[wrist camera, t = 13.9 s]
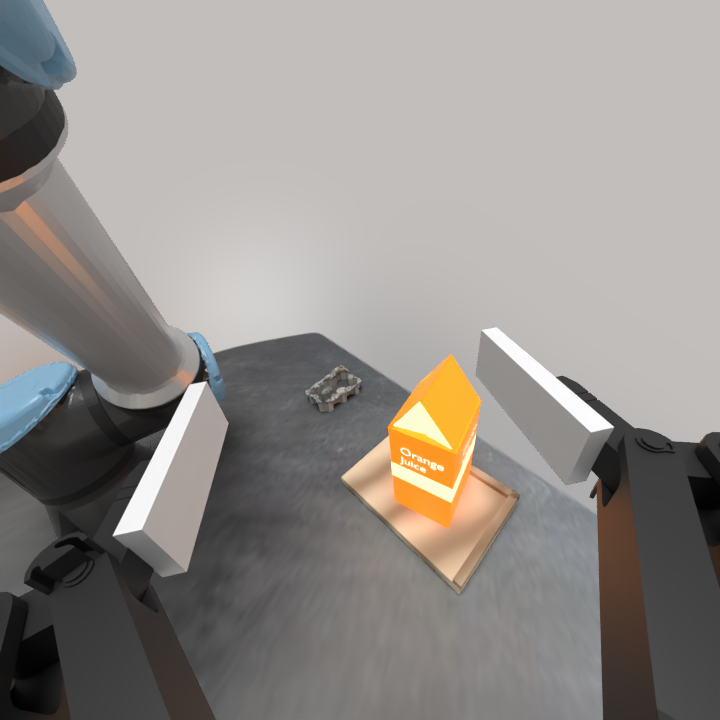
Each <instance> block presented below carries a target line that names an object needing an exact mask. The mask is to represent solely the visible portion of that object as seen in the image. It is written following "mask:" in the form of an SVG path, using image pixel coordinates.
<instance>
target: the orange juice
mask: <svg viewBox="0 0 720 720" xmlns="http://www.w3.org/2000/svg"><path fill="white" fill-rule="evenodd" d="M480 403H481V399H479V397H478V395H477V394H476V393H475V391H474V389H473V388H472V386H471V385H470V383H469V381H468V380H467V378H466V377H465V375H464V374H463V372H462V370H461V369H460V367H459V366H458V364H457V363H456V361H455V360H454V358H453V356H452V355H450V356H449V357H447V358H446V359H445V360H444V361H443V362H442V363H441V364H440V365H439V366H437V367H436V368H435V369H434V370H433V371H432V372H431V373H430V374H429V375H428V376H426V377H425V378H424V379H423V380H422V381H421V382H420V383H419V384H418V386H417V387H416V389H415V390H414V391H413V393H412V394H411V395H410V397H409V398H408V400H407V401H406V402H405V404H404V405H403V407H402V408H401V409H400V411H399V412H398V414H397V415H396V417H395V418H394V419H393V421H392V422H391V424H390V425H389V426H388V429H389V440H390V451H391V468H392V475H393V485H394V497H395V501H397V502H399V503H400V504H402V505H404V506H406V507H408V508H410V509H412V510H414V511H416V512H418V513H419V514H421V515H423V516H425V517H427V518H429V519H431V520H433V521H435V522H437V523H438V524H440V525H442V526H444V527H446V528H449V526H450V523H451V521H452V518H453V515H454V513H455V510H456V508H457V505H458V502H459V500H460V497H461V495H462V492H463V490H464V487H465V484H466V482H467V479H468V477H469V474H470V467H471V461H472V454H473V448H474V444H475V437H476V428H477V422H478V415H479V409H480Z"/></svg>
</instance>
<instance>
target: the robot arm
mask: <svg viewBox="0 0 720 720" xmlns="http://www.w3.org/2000/svg"><path fill="white" fill-rule="evenodd" d="M75 76H76V67H75V63H74V60H73V57H72V55H71V53H70V51H69V49H68V47H67V45H66V43H65V42H64V39H63V38H62V36H61V34H60V32H59V30H58V27H57V25H56V24H55V22H54V20H53V18H52V16H51V14H50V12H49V11H48V9H47V7H46V5H45V3H44V1H43V0H0V314H2V315H3V316H5V317H7V318H8V319H10V320H11V321H13V322H14V323H16V324H17V325H19V326H20V327H22V328H23V329H25V330H26V331H28V332H30V333H31V334H33V335H34V336H36V337H37V338H39V339H40V340H42V341H43V342H45V343H46V344H48V345H49V346H51V347H52V348H54V349H55V350H57V351H59V352H60V353H62V354H63V355H65V356H66V357H68V358H69V359H71V360H72V361H74V362H75V363H77V364H78V365H80V366H82V367H83V368H85V370H82V371H78V369H77V367H76V366H74V365H72V364H70V363H68V362H58V363H50V364H46V365H43V366H40V367H37V368H35V369H32V370H30V371H28V372H25V373H23V374H21V375H19V376H17V377H15V378H13V379H11V380H10V381H7V382H6V383H4V384H2V385H1V386H0V472H1V473H2V474H4V475H5V476H6V477H8V478H9V479H10V480H12V481H13V482H14V483H16V484H17V485H19V486H20V487H21V488H23V489H24V490H25V491H27V492H28V493H29V494H31V495H32V496H33V497H35V498H36V499H37V500H39V501H40V502H41V503H43V504H44V505H45V507H46V510H47V512H48V515H49V517H50V520H51V522H52V525H53V527H54V530H55V532H56V535H57V536H58V538H59V539H58V540H56V541H54V542H53V543H52V544H50V545H49V546H48V547H47V548H45V549H44V550H43V551H42V552H41V553H40V554H39V555H38V556H37V557H36V558H35V560H34V561H33V562H32V563H31V565H30V566H29V568H28V570H27V572H26V573H25V578H24V583H25V584H27V585H28V586H30V587H32V588H34V590H32V591H30V592H28V593H26V594H24V595H22V596H20V597H17V596H15V595H13V594H10V593H8V592H1V593H0V720H216V719H215V717H214V715H213V713H212V711H211V709H210V706H209V704H208V702H207V700H206V698H205V696H204V694H203V692H202V690H201V687H200V685H199V683H198V681H197V679H196V677H195V675H194V673H193V670H192V668H191V666H190V664H189V662H188V660H187V658H186V656H185V653H184V651H183V649H182V647H181V645H180V643H179V641H178V639H177V636H176V634H175V632H174V630H173V628H172V626H171V624H170V622H169V619H168V617H167V615H166V613H165V611H164V609H163V607H162V605H161V602H160V600H159V598H158V596H157V594H156V592H155V590H154V588H153V586H152V585H151V584H150V583H149V581H150V578H151V575H152V572H153V570H154V571H155V572H157V573H158V574H159V575H160V576H161V577H166V576H171V575H175V574H180V573H184V572H187V570H188V566H189V562H190V559H191V555H192V552H193V548H194V545H195V541H196V538H197V534H198V531H199V527H200V523H201V520H202V516H203V513H204V509H205V506H206V502H207V499H208V495H209V492H210V488H211V484H212V481H213V477H214V474H215V470H216V467H217V463H218V460H219V456H220V453H221V449H222V445H223V442H224V438H225V435H226V431H227V428H228V424H229V423H228V421H227V420H226V418H225V416H224V414H223V412H222V410H221V408H220V406H219V403H221V402H222V401H223V400H224V398H225V387H224V383H223V380H222V377H221V376H220V371H219V368H218V365H217V363H216V360H215V358H214V355H213V353H212V351H211V349H210V347H209V345H208V343H207V341H206V340H205V338H204V337H203V336H202V335H201V334H200V333H197V332H195V333H185V332H183V331H182V330H180V329H178V328H175V327H173V326H169V325H167V323H166V322H165V320H164V319H163V317H162V315H161V314H160V313H159V311H158V310H157V308H156V306H155V305H154V303H153V302H152V300H151V299H150V297H149V296H148V294H147V293H146V291H145V290H144V288H143V287H142V285H141V284H140V282H139V281H138V279H137V278H136V276H135V275H134V273H133V271H132V270H131V268H130V267H129V265H128V264H127V262H126V261H125V260H124V258H123V256H122V255H121V253H120V252H119V250H118V249H117V247H116V246H115V244H114V243H113V242H112V240H111V238H110V237H109V235H108V234H107V232H106V231H105V229H104V227H103V226H102V224H101V223H100V222H99V220H98V218H97V217H96V215H95V214H94V212H93V211H92V209H91V208H90V206H89V205H88V203H87V202H86V200H85V199H84V197H83V196H82V194H81V193H80V191H79V190H78V188H77V187H76V185H75V183H74V182H73V180H72V179H71V177H70V176H69V175H68V173H67V171H66V170H65V168H64V167H63V165H62V164H61V162H60V161H59V159H58V158H57V156H58V154H59V152H60V151H61V149H62V148H63V146H64V144H65V141H66V138H67V135H68V121H67V117H66V113H65V111H64V109H63V107H62V105H61V103H60V101H59V99H58V98H57V96H56V94H55V92H54V91H53V90H55V89H59V88H61V87H62V85H63V84H64V83H66V82H69V81H71V80H73V79H74V78H75ZM476 376H477V377H478V379H479V380H480V381H481V382H482V383H483V385H484V386H485V387H486V388H487V390H488V391H489V392H490V393H491V395H492V396H493V397H494V398H495V399H496V401H497V402H498V403H499V404H500V406H501V407H502V408H503V409H504V410H505V412H506V413H507V414H508V415H509V417H510V418H511V419H512V420H513V422H514V423H515V424H516V425H517V426H518V427H519V429H520V430H521V431H522V433H523V434H524V435H525V436H526V437H527V438H528V440H529V441H530V442H531V443H532V445H533V446H534V447H535V448H536V450H537V451H538V452H539V453H540V455H541V456H542V457H543V458H544V459H545V461H546V462H547V463H548V464H549V466H550V467H551V468H552V469H553V470H554V472H555V473H556V474H557V475H558V477H559V478H560V479H561V480H562V481H563V483H564V484H565V485H569V484H573V483H578V482H582V481H586V479H587V477H588V476H589V474H590V472H591V470H592V471H593V472H594V473H595V474H596V475H597V476H598V477H599V479H598V481H597V483H596V484H595V486H594V488H593V490H592V491H591V494H590V498H594V497H595V495H596V493H597V517H598V552H599V588H600V623H601V658H602V693H603V720H720V432H712V433H710V434H707V435H706V436H705V437H704V438H703V439H702V440H701V442H700V443H690V442H673V441H671V440H670V439H668V438H667V437H665V436H663V435H661V434H659V433H657V432H654V431H651V430H647V429H640V428H636V429H635V428H633V427H632V426H631V425H630V424H628V423H627V422H626V421H625V420H623V419H622V418H621V417H620V416H618V415H617V414H616V413H614V412H613V411H612V410H611V409H610V408H608V407H607V406H606V405H605V404H603V403H602V402H601V401H600V400H597V398H596V397H595V396H593V395H592V394H591V393H588V391H587V390H586V389H585V388H583V387H582V386H581V385H580V384H578V383H577V382H575V381H573V380H570V379H568V378H566V377H564V376H559V377H554V376H553V375H552V374H551V373H550V372H549V371H547V370H546V369H545V368H544V367H543V366H541V365H540V364H539V363H538V362H537V361H536V360H534V359H533V358H532V357H531V356H530V355H529V354H527V353H526V352H525V351H524V350H523V349H521V348H520V347H519V346H518V345H517V344H515V343H514V342H513V341H512V340H510V338H508V337H507V336H506V335H505V334H504V333H503V332H501V331H500V330H499V329H498V328H491V329H486V330H482V331H481V338H480V346H479V353H478V361H477V368H476ZM167 427H168V428H167ZM165 428H167V430H166V432H165V434H164V436H163V438H162V439H161V441H160V443H159V445H158V447H157V449H156V451H155V452H154V451H152V450H150V449H148V448H146V447H144V446H142V445H140V444H138V443H136V441H138V440H140V439H142V438H144V437H147V436H149V435H151V434H153V433H156V432H158V431H160V430H162V429H165Z"/></svg>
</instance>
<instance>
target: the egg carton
mask: <svg viewBox="0 0 720 720" xmlns="http://www.w3.org/2000/svg"><path fill="white" fill-rule="evenodd" d="M346 379H348V385H349V387H347V388H345V387H340V388H338V389H337V391H336V392H337V393H336V394H334V392H333V388H332V387H335V386H336V385H337V381H339V380H346ZM360 382H361V380H360V379H359V378H357V377H356V376H355V375H353V376H352V375H351V374H350V372H349V371H348V370H347V369H346V368H345V367H344V366H342V365H340V366H338V367H336V368H335V369H333V370H332V371H331V374H329V375H327V376H325V377H324V378H323V379H322V380H321V381H319V382H317V383H316V384H315V385H313V387H311V388H310V389H309V390H306V391H305V392H306V394H307V395H308V396H309V399H310V403H311V404H315V403H318V407H319V410H320V411H321V412H324V411H329V412H331V411H333V410H334V407H333V406H334V404H336V403H338V402H341V403H345V402H346V401H347V396H348V395H350V394H355V395H357V394H358V393H359V388H360V385H359V383H360ZM319 395H322V396H323V400H324V402H321V401H320V398H319Z"/></svg>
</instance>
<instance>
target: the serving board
mask: <svg viewBox="0 0 720 720" xmlns="http://www.w3.org/2000/svg"><path fill="white" fill-rule="evenodd" d="M341 479H342V483H343V484H344V485H345V486H346V487H347V488H348V489H349V490H350V491H351V492H353V493H354V494H355V495H356V496H357V497H358V498H359V499H360V500H361V501H362V502H363V503H364V504H365V505H366V506H367V507H368V508H369V509H370V510H371V511H372V512H373V513H374V514H375V515H377V516H378V517H379V518H380V519H381V520H382V521H383V522H384V523H385V524H386V525H387V526H388V527H389V528H390V529H391V530H392V531H393V532H394V533H395V534H396V535H397V536H398V537H400V538H401V539H402V540H403V541H404V542H405V543H406V544H407V545H408V546H409V547H410V548H411V549H412V550H413V551H414V552H415V553H416V554H417V555H418V556H419V557H420V558H421V559H422V560H424V561H425V562H426V563H427V564H428V565H429V566H430V567H431V568H432V569H433V570H434V571H435V572H436V573H437V574H438V575H439V576H440V577H441V578H442V579H443V580H444V581H445V582H447V583H448V584H449V585H450V586H451V587H452V588H453V589H454V590H455V591H456V592H457V593H458V594H459V595H460V594H461V592H462V590H463V589H464V587H465V586H466V584H467V583H468V581H469V579H470V578H471V576H472V575H473V573H474V571H475V570H476V568H477V567H478V565H479V564H480V562H481V560H482V559H483V557H484V556H485V554H486V553H487V551H488V549H489V548H490V546H491V545H492V543H493V542H494V540H495V538H496V537H497V535H498V534H499V532H500V531H501V529H502V527H503V526H504V524H505V523H506V521H507V520H508V518H509V516H510V515H511V513H512V512H513V510H514V509H515V507H516V505H517V503H518V500H519V497H520V495H519V494H518V493H516V492H514V491H513V490H511V489H510V488H508V487H506V486H505V485H503V484H502V483H500V482H498V481H497V480H495V479H494V478H492V477H490V476H489V475H487V474H486V473H484V472H482V471H481V470H479V469H478V468H476V467H474V466H473V465H471V467H470V474H469V477H468V479H467V482H466V484H465V487H464V490H463V492H462V495H461V497H460V500H459V502H458V505H457V508H456V510H455V513H454V515H453V518H452V521H451V523H450V526H449V528H446V527H444V526H442V525H440V524H438V523H437V522H435V521H433V520H431V519H429V518H427V517H425V516H423V515H421V514H419V513H418V512H416V511H414V510H412V509H410V508H408V507H406V506H404V505H402V504H400V503H399V502H397V501H395V497H394V485H393V475H392V468H391V451H390V440H389V436H388V437H386V438H385V439H384V440H383V441H382V442H381V443H380V444H378V445H377V446H376V447H375V448H374V449H373V450H372V451H370V452H369V453H368V454H367V455H366V456H365V457H364V458H362V459H361V460H360V461H359V462H358V463H357V464H356V465H354V466H353V467H352V468H351V469H350V470H349V471H348V472H346V473H345V474H344V475H343V476H342V477H341Z"/></svg>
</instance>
